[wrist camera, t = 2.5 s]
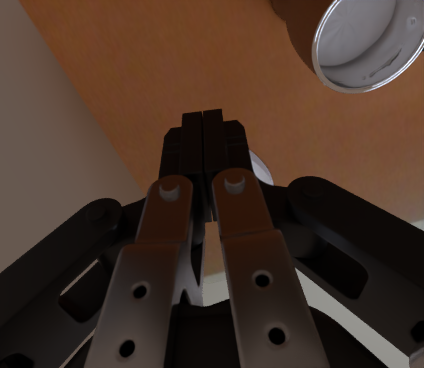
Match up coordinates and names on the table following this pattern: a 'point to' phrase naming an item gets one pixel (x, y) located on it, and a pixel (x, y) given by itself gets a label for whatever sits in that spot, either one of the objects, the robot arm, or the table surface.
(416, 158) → the table surface
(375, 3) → the beer glass
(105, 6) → the table surface
